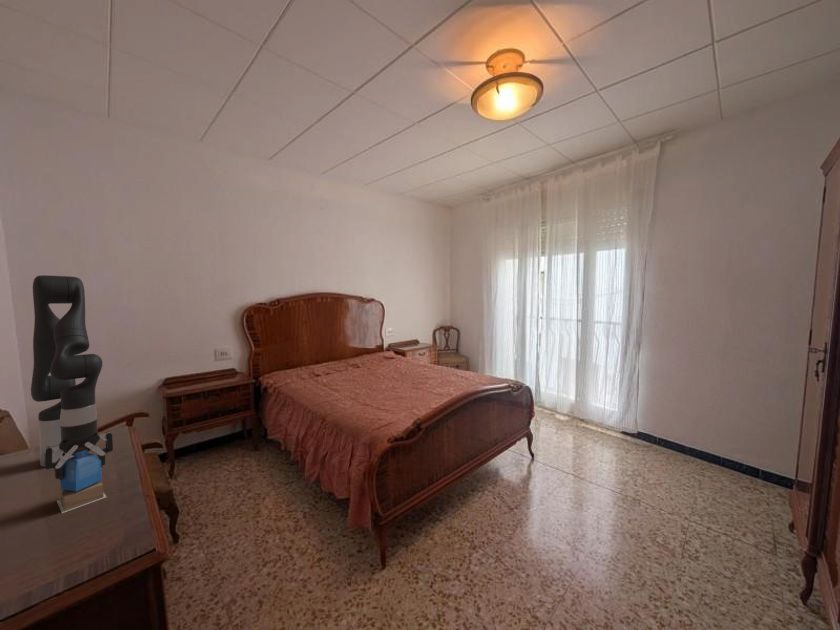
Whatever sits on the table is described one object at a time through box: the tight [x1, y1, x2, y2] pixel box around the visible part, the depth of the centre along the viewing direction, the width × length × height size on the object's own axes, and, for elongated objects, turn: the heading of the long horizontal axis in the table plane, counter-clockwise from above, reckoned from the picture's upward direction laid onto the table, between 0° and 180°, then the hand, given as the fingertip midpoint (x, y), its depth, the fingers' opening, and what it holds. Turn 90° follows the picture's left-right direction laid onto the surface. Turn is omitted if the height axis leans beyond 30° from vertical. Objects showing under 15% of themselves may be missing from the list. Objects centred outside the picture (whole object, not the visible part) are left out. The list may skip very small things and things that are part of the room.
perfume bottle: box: [59, 446, 103, 492], centre depth 96 cm, size 6×6×12 cm
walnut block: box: [59, 480, 104, 512], centre depth 96 cm, size 8×8×4 cm
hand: (81, 472), depth 96 cm, fingers closed on perfume bottle, 8 cm apart
